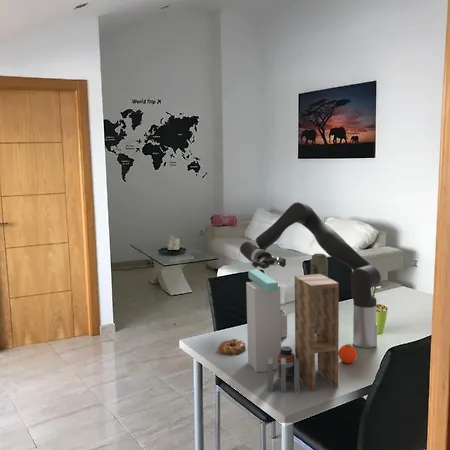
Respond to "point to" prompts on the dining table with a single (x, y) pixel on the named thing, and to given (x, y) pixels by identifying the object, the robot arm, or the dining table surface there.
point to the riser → (263, 326)
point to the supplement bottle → (286, 353)
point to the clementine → (347, 353)
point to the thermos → (318, 267)
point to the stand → (326, 328)
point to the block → (263, 280)
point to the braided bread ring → (232, 347)
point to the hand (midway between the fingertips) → (274, 265)
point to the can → (283, 323)
